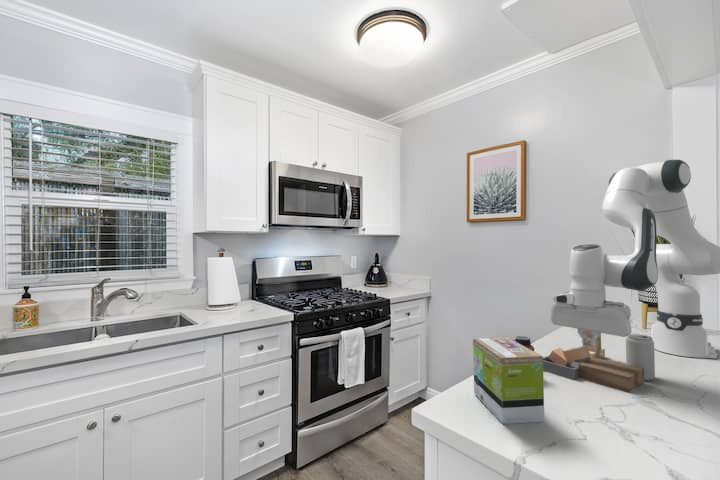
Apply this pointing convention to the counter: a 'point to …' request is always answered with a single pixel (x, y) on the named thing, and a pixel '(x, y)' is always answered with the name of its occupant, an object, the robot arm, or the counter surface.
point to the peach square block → (559, 358)
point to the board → (611, 374)
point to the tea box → (509, 380)
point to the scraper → (595, 350)
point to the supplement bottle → (524, 342)
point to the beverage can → (641, 354)
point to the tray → (563, 368)
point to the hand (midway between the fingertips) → (588, 345)
